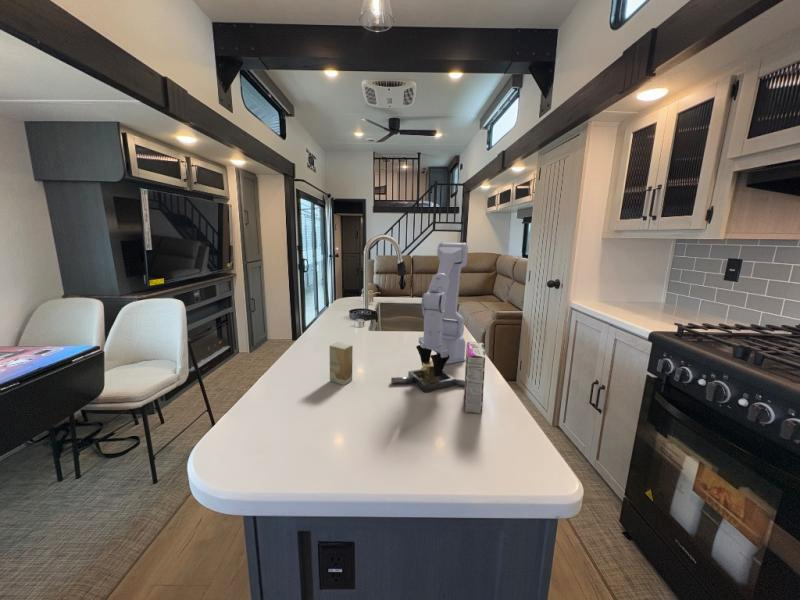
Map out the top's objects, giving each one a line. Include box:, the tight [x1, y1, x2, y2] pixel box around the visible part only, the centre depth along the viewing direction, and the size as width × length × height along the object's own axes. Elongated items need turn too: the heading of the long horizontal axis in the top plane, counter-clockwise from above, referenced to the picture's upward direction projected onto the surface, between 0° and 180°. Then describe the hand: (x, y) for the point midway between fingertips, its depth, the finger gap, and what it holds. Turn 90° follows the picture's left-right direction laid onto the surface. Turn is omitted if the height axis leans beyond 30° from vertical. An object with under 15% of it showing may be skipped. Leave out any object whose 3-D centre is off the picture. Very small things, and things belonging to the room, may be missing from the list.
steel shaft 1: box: [390, 376, 414, 385], centre depth 102 cm, size 7×2×2 cm, turn 96°
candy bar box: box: [463, 341, 486, 415], centre depth 89 cm, size 11×5×16 cm, turn 168°
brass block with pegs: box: [420, 360, 439, 383], centre depth 102 cm, size 6×4×6 cm, turn 116°
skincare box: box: [329, 341, 354, 386], centre depth 102 cm, size 6×4×12 cm
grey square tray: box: [407, 368, 457, 394], centre depth 103 cm, size 11×11×2 cm
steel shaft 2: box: [454, 378, 465, 388], centre depth 100 cm, size 7×2×2 cm, turn 76°
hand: (431, 370), depth 102 cm, fingers open, 7 cm apart
